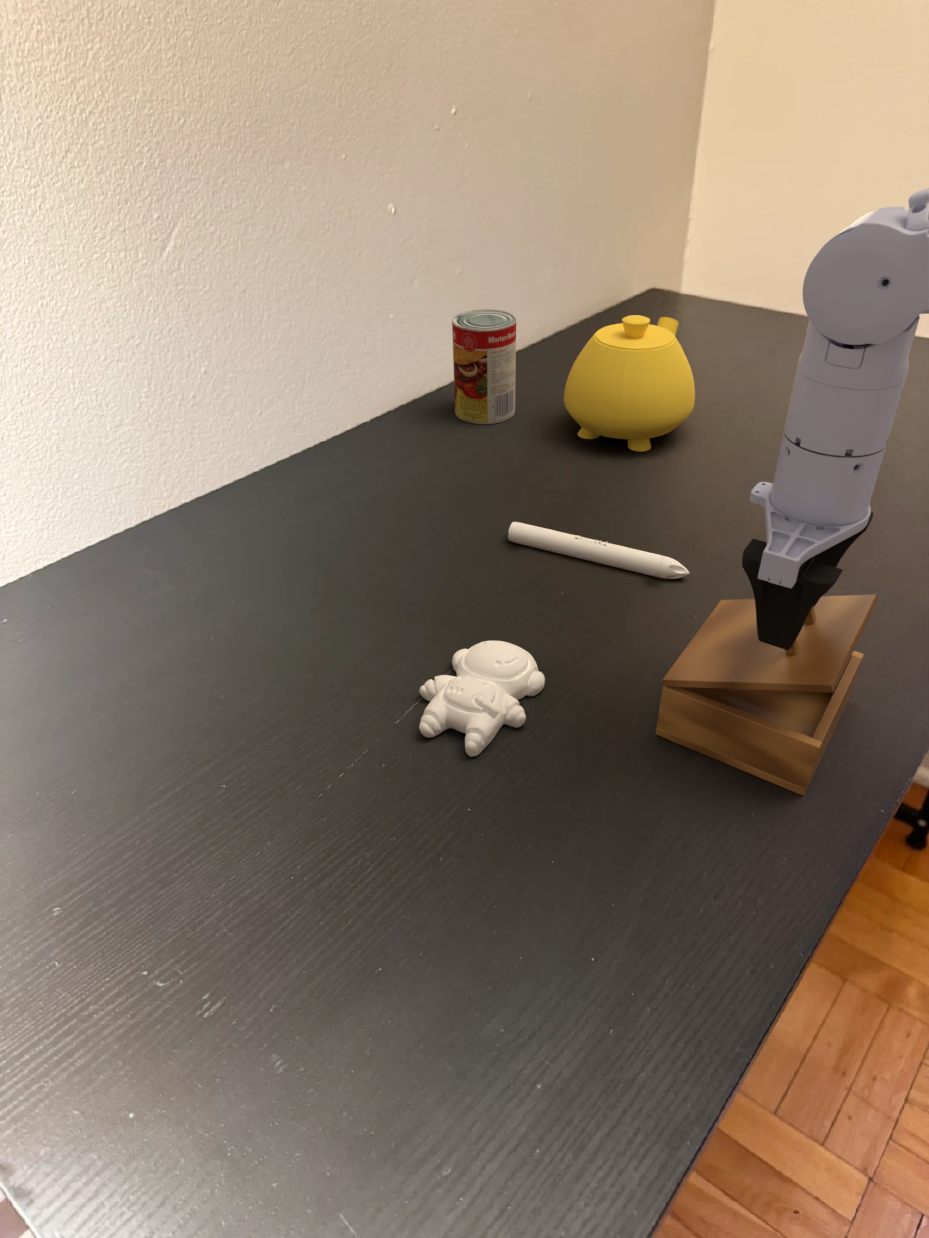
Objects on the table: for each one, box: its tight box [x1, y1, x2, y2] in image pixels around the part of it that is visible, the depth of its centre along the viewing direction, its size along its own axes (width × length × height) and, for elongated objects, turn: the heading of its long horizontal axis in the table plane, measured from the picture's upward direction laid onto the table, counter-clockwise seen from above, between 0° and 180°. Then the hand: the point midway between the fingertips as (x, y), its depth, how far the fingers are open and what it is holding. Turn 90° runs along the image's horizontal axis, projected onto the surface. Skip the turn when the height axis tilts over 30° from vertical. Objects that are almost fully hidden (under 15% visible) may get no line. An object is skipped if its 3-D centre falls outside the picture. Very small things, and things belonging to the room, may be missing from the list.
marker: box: [507, 521, 690, 580], centre depth 81 cm, size 18×2×2 cm, turn 63°
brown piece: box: [662, 593, 879, 693], centre depth 59 cm, size 12×11×4 cm
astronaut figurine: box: [418, 640, 546, 758], centre depth 65 cm, size 9×12×3 cm
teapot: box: [563, 314, 696, 452], centre depth 102 cm, size 20×16×14 cm
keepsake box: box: [654, 650, 865, 797], centre depth 62 cm, size 11×11×5 cm
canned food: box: [451, 308, 517, 425], centre depth 106 cm, size 8×8×12 cm
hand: (788, 621), depth 58 cm, fingers closed on brown piece, 5 cm apart
